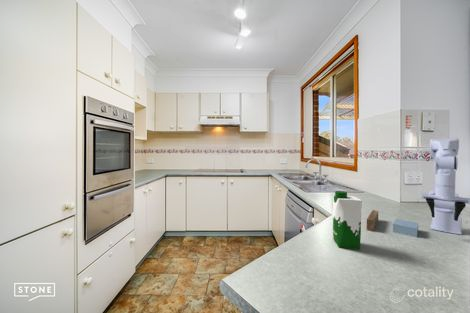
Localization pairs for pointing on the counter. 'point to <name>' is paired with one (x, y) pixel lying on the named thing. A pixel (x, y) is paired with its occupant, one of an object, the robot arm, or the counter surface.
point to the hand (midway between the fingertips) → (444, 218)
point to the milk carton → (346, 220)
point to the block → (405, 227)
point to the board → (372, 220)
